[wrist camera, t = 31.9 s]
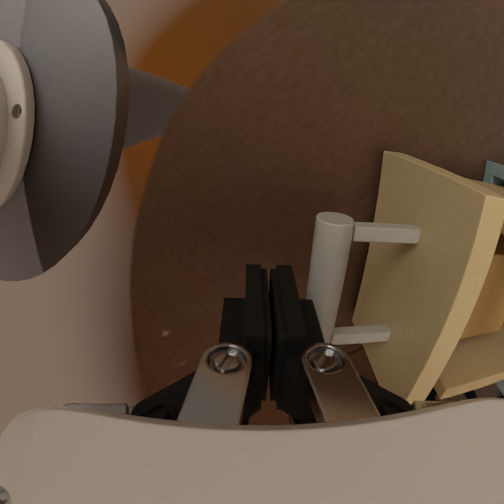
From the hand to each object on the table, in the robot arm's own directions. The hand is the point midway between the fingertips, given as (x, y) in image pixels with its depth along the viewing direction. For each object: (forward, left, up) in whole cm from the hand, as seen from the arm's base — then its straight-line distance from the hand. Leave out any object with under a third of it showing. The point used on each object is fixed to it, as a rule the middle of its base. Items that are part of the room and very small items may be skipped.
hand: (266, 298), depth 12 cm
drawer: (+10, 0, -5) cm, 11 cm away
